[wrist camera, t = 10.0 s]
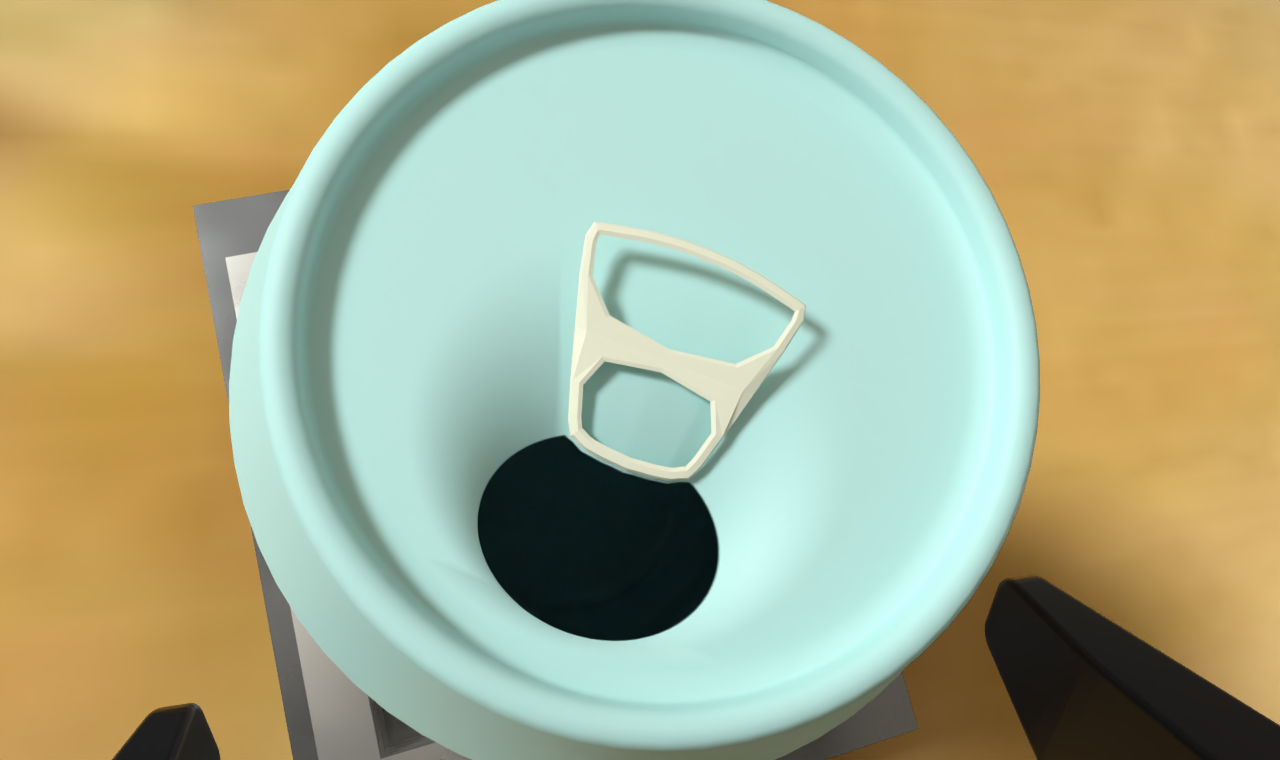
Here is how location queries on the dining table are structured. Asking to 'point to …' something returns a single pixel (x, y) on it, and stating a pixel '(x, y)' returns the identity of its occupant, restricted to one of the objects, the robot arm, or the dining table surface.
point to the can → (633, 382)
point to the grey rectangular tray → (309, 680)
